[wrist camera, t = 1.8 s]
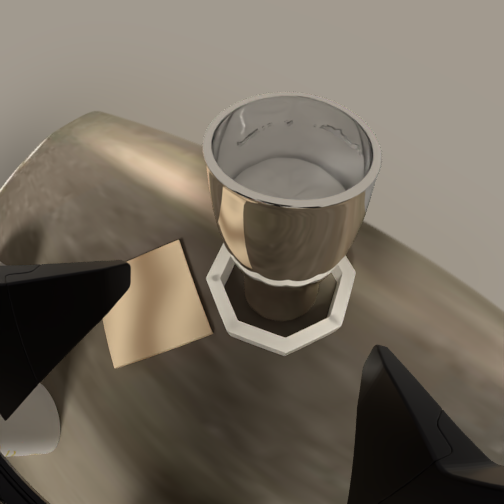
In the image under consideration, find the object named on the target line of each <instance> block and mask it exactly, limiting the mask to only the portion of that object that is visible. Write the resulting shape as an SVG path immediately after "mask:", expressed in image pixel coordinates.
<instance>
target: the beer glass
mask: <svg viewBox="0 0 504 504" xmlns="http://www.w3.org/2000/svg"><path fill="white" fill-rule="evenodd" d="M202 149H203V156H204V160H205V163H206V169H207V176H208V184H209V190H210V196H211V202H212V207H213V211H214V215H215V219H216V223H217V226H218V229H219V232H220V235H221V237H222V240H223V243H224V245H225V247H226V249H227V251H228V252H229V254H230V256H231V257H232V259H233V261H234V262H235V264H236V265H237V267H238V268H239V269H240V271H241V272H242V273H243V275H244V276H245V277H244V294H245V297H246V300H247V302H248V303H249V305H250V306H251V308H252V309H253V310H254V311H255V312H256V313H258V314H259V315H261V316H262V317H264V318H266V319H269V320H273V321H290V320H294V319H296V318H299V317H301V316H302V315H304V314H305V313H306V312H308V311H309V310H310V308H311V307H312V306H313V304H314V303H315V301H316V299H317V296H318V292H319V283H320V282H321V281H322V280H324V279H325V278H326V277H327V276H328V275H329V274H330V273H331V272H332V271H333V270H334V269H335V268H336V266H337V265H338V264H339V263H340V262H341V261H342V259H343V258H344V257H345V255H346V254H347V252H348V250H349V249H350V247H351V245H352V243H353V242H354V240H355V238H356V236H357V234H358V232H359V229H360V227H361V224H362V222H363V220H364V217H365V214H366V211H367V208H368V205H369V202H370V198H371V195H372V191H373V188H374V184H375V181H376V178H377V176H378V174H379V171H380V168H381V163H382V153H381V147H380V144H379V141H378V139H377V137H376V135H375V134H374V132H373V131H372V129H371V128H370V127H369V125H368V124H367V123H366V122H365V121H364V120H363V119H362V118H361V117H359V116H358V115H357V114H356V113H354V112H353V111H351V110H350V109H348V108H346V107H345V106H343V105H341V104H339V103H337V102H334V101H332V100H329V99H326V98H323V97H320V96H316V95H311V94H306V93H298V92H274V93H266V94H260V95H256V96H252V97H249V98H246V99H243V100H241V101H239V102H237V103H235V104H233V105H231V106H229V107H228V108H226V109H225V110H223V111H222V112H221V113H220V114H218V115H217V117H216V118H215V119H214V120H213V121H212V122H211V124H210V125H209V127H208V128H207V130H206V132H205V136H204V139H203V146H202Z"/></svg>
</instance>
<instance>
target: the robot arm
mask: <svg viewBox="0 0 504 504" xmlns="http://www.w3.org/2000/svg"><path fill="white" fill-rule="evenodd" d="M130 285H131V266H130V264H129V263H127V262H125V261H122V260H114V261H95V262H77V263H59V264H42V265H0V415H1V417H2V418H3V419H4V420H5V421H6V420H8V419H9V417H10V416H11V415H12V414H13V413H14V412H15V410H16V409H17V408H18V407H19V406H20V405H21V404H22V402H23V401H24V400H25V399H26V398H27V397H28V396H29V395H30V393H31V392H32V391H33V390H34V389H35V388H36V387H37V386H38V384H39V383H40V382H41V381H42V380H43V379H44V378H45V377H46V376H47V375H48V374H49V373H50V371H51V370H52V369H53V368H54V367H55V366H56V365H57V364H58V363H59V362H60V361H61V360H62V359H63V358H64V357H65V356H66V355H67V354H68V353H69V352H70V351H71V350H72V349H73V348H74V347H75V346H76V345H77V344H78V343H79V342H80V341H81V340H82V339H83V338H84V337H85V336H86V335H87V334H88V333H89V332H90V331H91V330H92V329H93V328H94V327H95V326H96V325H97V324H98V323H99V322H100V321H101V320H102V319H103V318H104V317H105V316H106V315H107V314H108V313H109V312H110V310H111V309H112V308H113V307H114V306H115V304H116V303H117V302H118V301H119V300H120V299H121V297H122V296H123V295H124V294H125V293H126V292H127V291H128V289H129V288H130ZM0 501H1V502H2V503H3V504H50V503H49V502H48V501H47V500H45V499H44V498H43V497H42V496H41V495H40V494H39V493H38V492H37V491H36V490H35V489H34V488H33V487H32V486H31V485H30V484H29V483H28V482H27V481H26V480H25V479H24V478H23V477H22V476H21V475H20V474H19V473H18V472H17V471H16V469H15V468H14V467H13V466H12V465H11V464H10V463H9V461H8V460H7V459H6V458H5V457H4V455H3V454H2V453H1V452H0ZM347 504H504V466H502V465H498V464H496V463H494V462H493V461H491V460H490V459H489V458H488V457H487V456H486V455H485V454H484V453H483V452H482V451H481V450H480V449H479V448H478V447H477V446H476V445H475V444H474V443H473V442H472V441H471V440H470V439H469V438H468V437H467V436H466V435H465V434H464V433H463V432H462V431H461V429H460V428H459V427H458V426H457V425H456V424H455V423H454V422H453V421H452V420H451V418H450V417H449V416H448V415H447V414H446V413H445V411H444V410H442V408H441V407H440V406H439V405H438V403H437V402H436V401H435V400H434V399H433V398H432V397H431V395H430V394H429V393H428V392H427V391H426V390H425V389H424V387H423V386H422V385H421V384H420V383H419V382H418V381H417V380H416V379H415V377H414V376H413V375H412V374H411V373H410V372H409V371H408V370H407V368H406V367H405V366H404V365H403V364H402V363H401V362H400V361H399V360H398V359H397V357H396V356H395V355H394V354H393V353H392V352H391V351H390V350H389V349H388V348H387V347H385V346H381V345H375V346H374V347H373V349H372V351H371V353H370V355H369V356H368V358H367V360H366V362H365V364H364V367H363V371H362V379H361V386H360V392H359V399H358V405H357V418H356V434H355V446H354V457H353V466H352V475H351V482H350V489H349V496H348V502H347Z"/></svg>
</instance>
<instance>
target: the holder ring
mask: <svg viewBox="0 0 504 504" xmlns="http://www.w3.org/2000/svg"><path fill="white" fill-rule="evenodd" d="M234 265H235V262H234V261H233V259H232V257H231V256H230V254H229V252H228V251H227V249H226V247H225V245H224V243H223V245H222V247H221V249H220V251H219V253H218V255H217V257H216V259H215V261H214V263H213V265H212V267H211V269H210V271H209V273H208V275H207V277H206V280H207V282H208V285H209V287H210V290H211V293H212V295H213V298H214V300H215V303H216V305H217V308H218V310H219V313H220V315H221V318H222V320H223V323H224V325H225V328H226V330H227V332H228V333H229V335H230V336H232V337H235V338H237V339H240V340H242V341H245V342H247V343H250V344H253V345H255V346H258V347H261V348H263V349H266V350H269V351H272V352H274V353H277V354H280V355H283V356H286V355H288V354H290V353H292V352H294V351H297V350H299V349H301V348H303V347H305V346H307V345H309V344H311V343H313V342H315V341H317V340H319V339H321V338H323V337H325V336H327V335H329V334H331V333H333V332H335V331H336V330H337V329H338V328H340V327H341V325H342V322H343V319H344V315H345V312H346V308H347V305H348V301H349V297H350V293H351V290H352V286H353V282H354V278H355V274H356V272H355V270H354V268H353V267H352V265H351V263H350V262H349V260H348V258H347V257H346V255H345V257H344V258H343V259H342V261H341V262H340V263H339V264H338V265H337V266H336V268H335V269H334V270H333V271H332V272H331V273H332V274H333V276H334V278H335V280H336V281H337V285H336V288H335V292H334V295H333V299H332V302H331V305H330V308H329V312H328V315H327V318H326V319H324V320H322V321H320V322H318V323H316V324H314V325H312V326H310V327H308V328H306V329H303V330H301V331H299V332H297V333H295V334H293V335H291V336H288V337H286V338H285V337H282V336H279V335H276V334H273V333H270V332H268V331H265V330H262V329H259V328H257V327H254V326H251V325H249V324H246V323H243V322H241V321H238V319H237V317H236V315H235V312H234V310H233V308H232V305H231V303H230V300H229V298H228V296H227V293H226V291H225V288H224V286H225V284H226V282H227V280H228V278H229V275H230V273H231V271H232V269H233V267H234Z"/></svg>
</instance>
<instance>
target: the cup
mask: <svg viewBox="0 0 504 504" xmlns="http://www.w3.org/2000/svg"><path fill="white" fill-rule="evenodd" d="M59 438H60V420H59V415H58V411H57V408H56V405H55V403H54V401H53V399H52V397H51V395H50V393H49V392H48V391H47V389H46V388H45V387H44V386H43V385H42V384H41V383H39V384H38V386H37V387H36V388H35V389H34V390H33V391H32V392H31V393H30V395H29V396H28V397H27V398H26V399H25V400H24V401H23V402H22V404H21V405H20V406H19V407H18V408H17V409H16V410H15V412H14V413H13V414H12V415H11V416H10V417H9V419H8V420H6V421H5V420H4V419H3V418H2V417H1V415H0V452H1V453H2V454H3V455H4V457H6V456H25V455H36V454H46V453H50V452H52V451H53V450H54V449H55V448H56V446H57V445H58V442H59Z"/></svg>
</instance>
